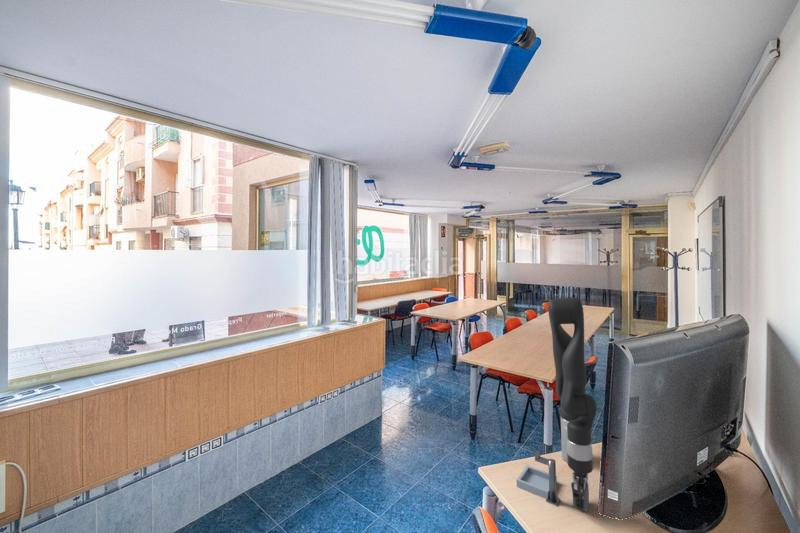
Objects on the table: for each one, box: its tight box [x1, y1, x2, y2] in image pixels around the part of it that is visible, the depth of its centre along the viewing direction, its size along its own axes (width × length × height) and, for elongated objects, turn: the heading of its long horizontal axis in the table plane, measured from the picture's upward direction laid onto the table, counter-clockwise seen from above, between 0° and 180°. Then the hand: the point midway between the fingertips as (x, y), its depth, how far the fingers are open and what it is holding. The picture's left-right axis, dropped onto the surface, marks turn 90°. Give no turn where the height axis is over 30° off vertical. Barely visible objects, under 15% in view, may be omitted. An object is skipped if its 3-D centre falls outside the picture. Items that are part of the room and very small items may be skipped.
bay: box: [516, 464, 558, 500], centre depth 123 cm, size 11×11×2 cm
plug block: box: [572, 483, 590, 513], centre depth 111 cm, size 4×4×9 cm
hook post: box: [534, 450, 561, 507], centre depth 115 cm, size 4×7×15 cm, turn 50°
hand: (581, 503), depth 111 cm, fingers closed on plug block, 4 cm apart
